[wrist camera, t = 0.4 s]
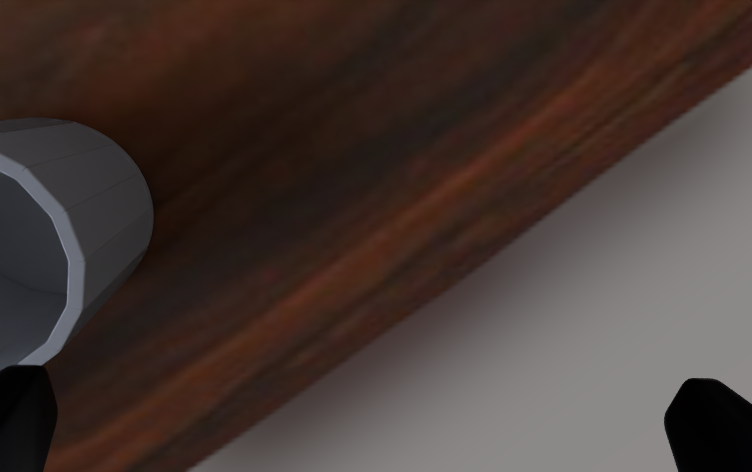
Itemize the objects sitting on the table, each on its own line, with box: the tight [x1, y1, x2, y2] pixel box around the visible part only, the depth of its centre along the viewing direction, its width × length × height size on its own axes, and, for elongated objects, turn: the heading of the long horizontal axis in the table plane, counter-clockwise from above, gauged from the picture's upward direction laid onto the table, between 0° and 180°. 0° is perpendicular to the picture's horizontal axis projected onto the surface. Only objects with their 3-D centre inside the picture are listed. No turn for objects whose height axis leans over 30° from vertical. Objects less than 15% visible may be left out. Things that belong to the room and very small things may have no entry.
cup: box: [0, 117, 154, 371], centre depth 17 cm, size 6×6×7 cm
